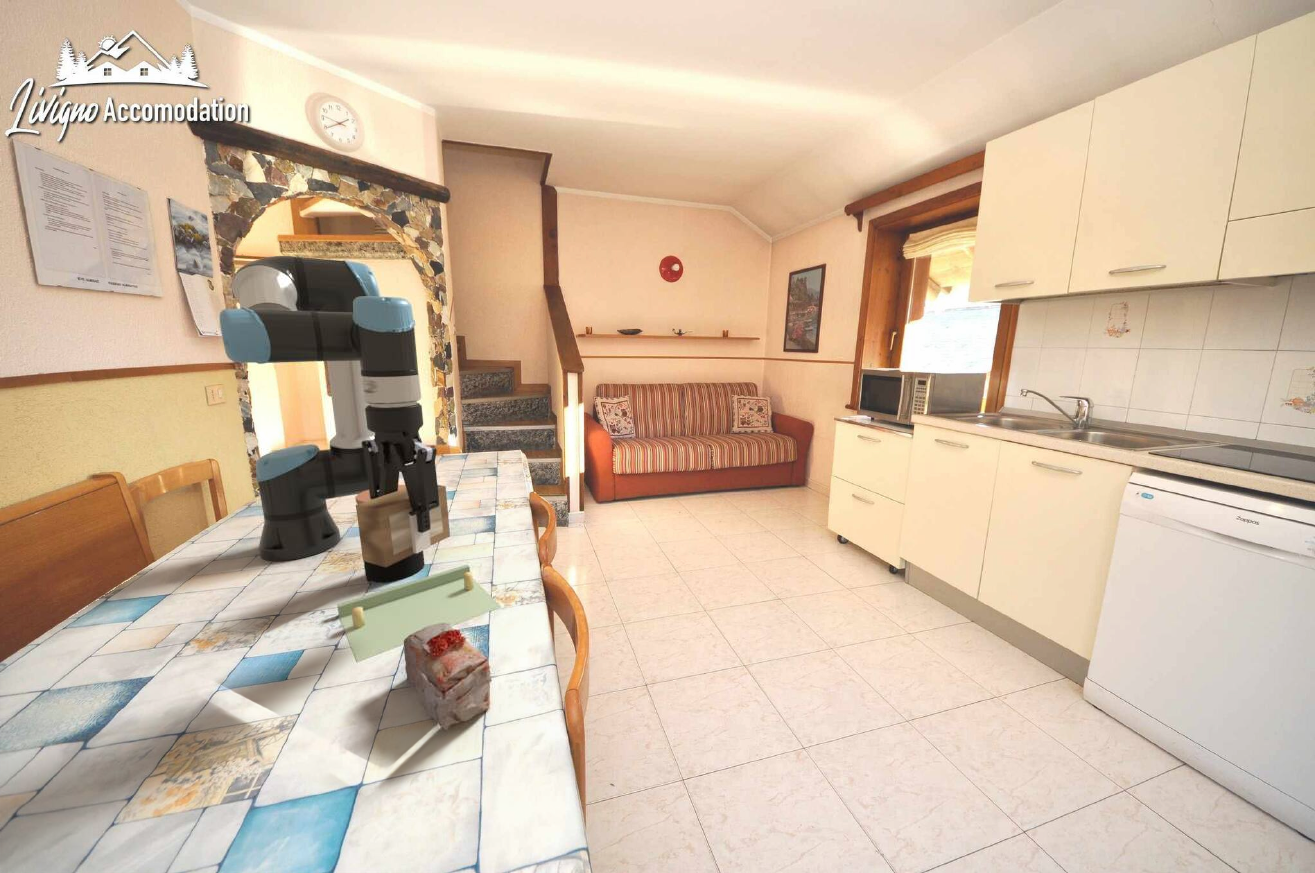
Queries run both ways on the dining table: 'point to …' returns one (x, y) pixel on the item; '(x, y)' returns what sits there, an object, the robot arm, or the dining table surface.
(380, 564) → the brown box-like piece
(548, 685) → the dining table surface
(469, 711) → the food item
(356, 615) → the ledge board
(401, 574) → the coffee jar
